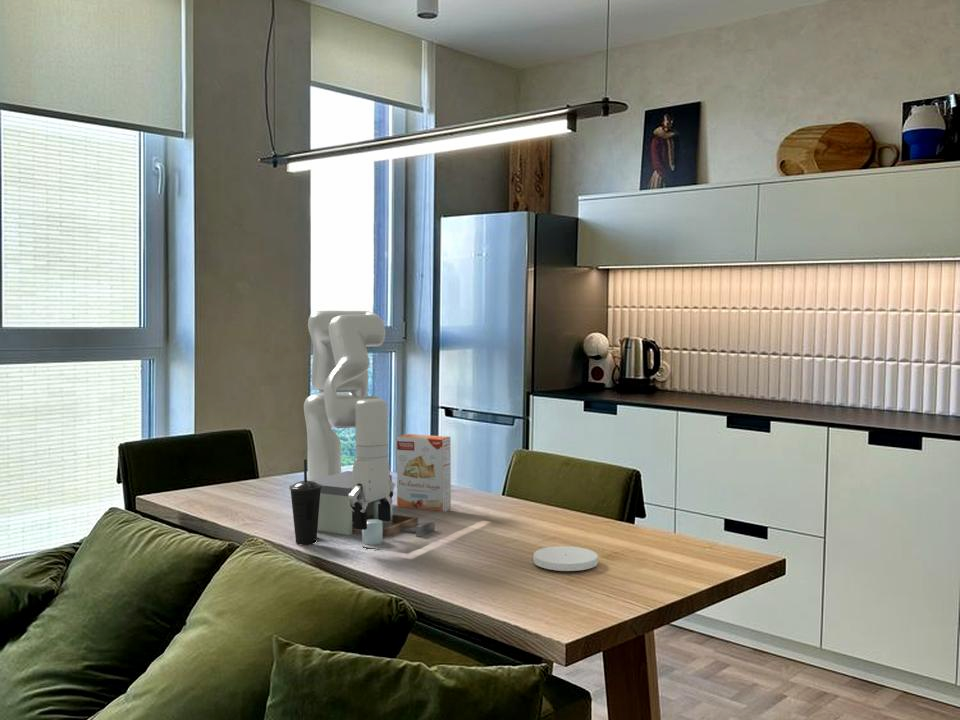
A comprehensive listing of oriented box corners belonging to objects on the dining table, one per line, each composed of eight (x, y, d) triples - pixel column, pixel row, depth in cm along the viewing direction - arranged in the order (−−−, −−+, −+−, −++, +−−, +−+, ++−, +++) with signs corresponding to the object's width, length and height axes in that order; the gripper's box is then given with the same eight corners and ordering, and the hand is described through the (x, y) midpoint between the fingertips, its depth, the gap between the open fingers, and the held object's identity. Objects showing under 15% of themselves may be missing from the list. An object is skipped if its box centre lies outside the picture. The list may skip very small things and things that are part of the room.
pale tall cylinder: (380, 521, 232) (380, 498, 231) (396, 523, 229) (396, 499, 229) (369, 525, 227) (369, 501, 227) (385, 527, 225) (385, 503, 225)
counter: (348, 517, 241) (347, 470, 241) (428, 527, 230) (427, 479, 229) (302, 532, 224) (302, 483, 224) (386, 544, 213) (386, 492, 212)
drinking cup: (328, 539, 217) (327, 457, 216) (312, 547, 210) (311, 463, 209) (300, 537, 220) (299, 456, 219) (283, 545, 213) (282, 461, 212)
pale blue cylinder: (369, 543, 214) (369, 518, 214) (386, 545, 212) (386, 520, 212) (358, 548, 210) (357, 522, 210) (375, 550, 208) (374, 524, 208)
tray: (378, 522, 234) (378, 510, 234) (441, 530, 225) (441, 518, 225) (346, 534, 221) (346, 521, 221) (411, 543, 212) (411, 530, 212)
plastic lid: (550, 554, 206) (550, 543, 205) (607, 562, 198) (607, 551, 198) (522, 569, 193) (522, 558, 193) (581, 579, 186) (582, 567, 186)
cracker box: (396, 510, 249) (395, 435, 248) (406, 506, 254) (405, 433, 253) (442, 515, 243) (442, 438, 242) (451, 510, 249) (451, 435, 248)
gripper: (379, 446, 219) (380, 516, 220) (336, 456, 204) (337, 530, 204) (405, 448, 216) (406, 519, 216) (363, 458, 200) (364, 534, 201)
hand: (372, 524), depth 210 cm, fingers open, 9 cm apart
